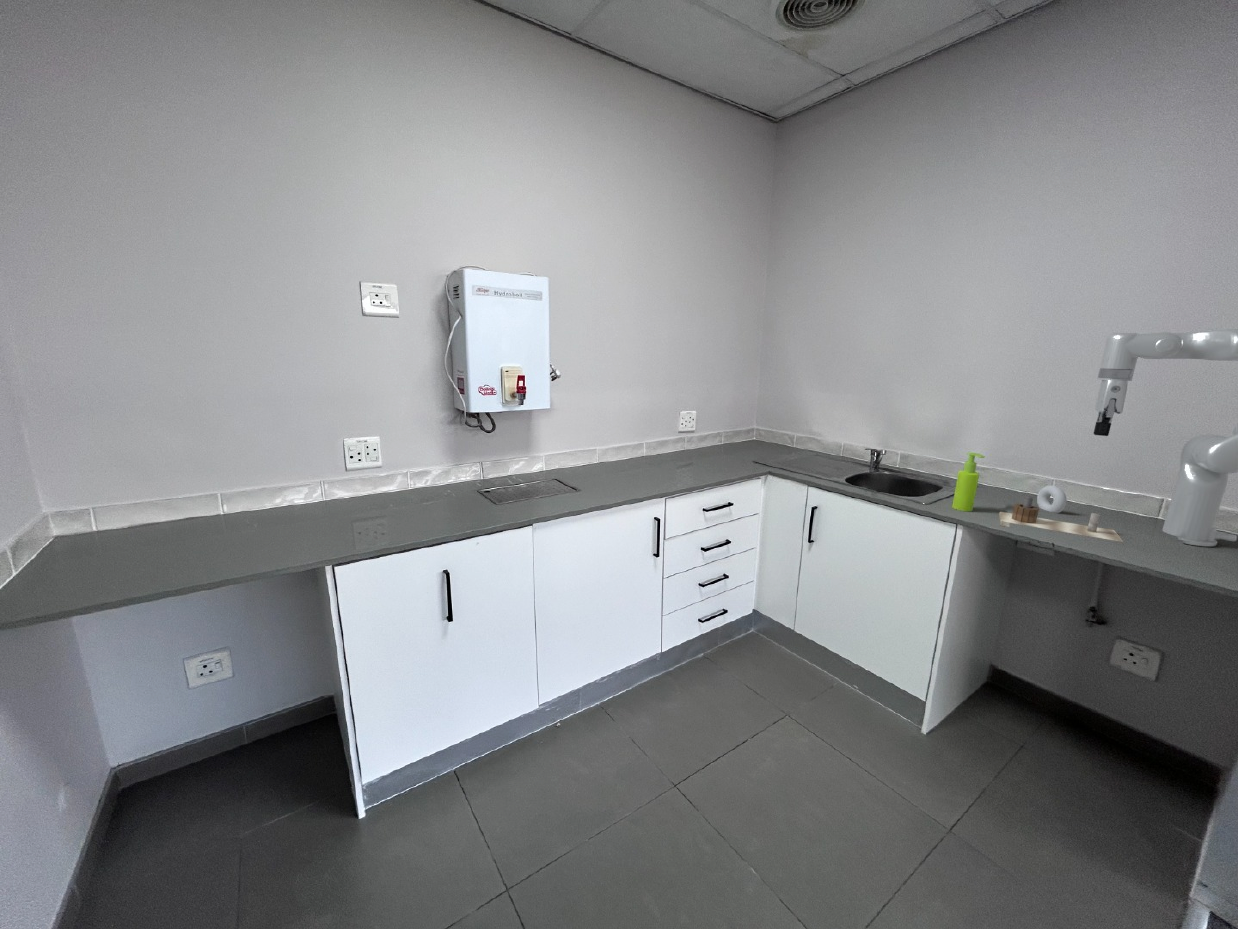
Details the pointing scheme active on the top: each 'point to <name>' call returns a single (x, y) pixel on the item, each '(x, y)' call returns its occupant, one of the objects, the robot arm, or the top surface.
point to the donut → (1058, 499)
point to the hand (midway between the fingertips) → (1100, 435)
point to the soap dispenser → (966, 485)
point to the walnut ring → (1025, 513)
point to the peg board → (1063, 524)
